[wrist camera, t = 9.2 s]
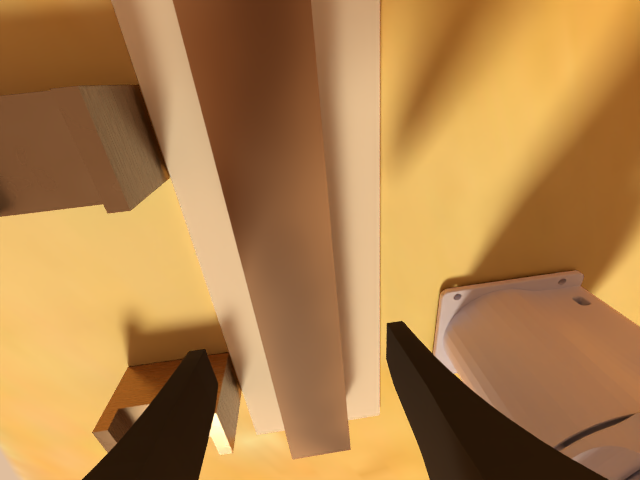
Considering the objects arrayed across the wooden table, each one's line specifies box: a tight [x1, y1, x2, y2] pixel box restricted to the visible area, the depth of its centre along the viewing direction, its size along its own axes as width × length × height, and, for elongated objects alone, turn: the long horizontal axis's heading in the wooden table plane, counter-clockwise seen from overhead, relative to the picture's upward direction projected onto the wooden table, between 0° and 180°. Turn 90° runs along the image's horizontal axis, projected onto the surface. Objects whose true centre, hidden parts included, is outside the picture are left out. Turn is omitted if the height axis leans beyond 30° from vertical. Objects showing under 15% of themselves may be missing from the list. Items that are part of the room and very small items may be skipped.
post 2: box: [92, 352, 242, 455], centre depth 19 cm, size 7×4×4 cm, turn 95°
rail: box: [173, 0, 351, 459], centre depth 16 cm, size 4×26×3 cm, turn 6°
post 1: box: [0, 85, 170, 217], centre depth 12 cm, size 7×4×4 cm, turn 95°
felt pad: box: [111, 0, 380, 435], centre depth 17 cm, size 10×30×1 cm, turn 5°
